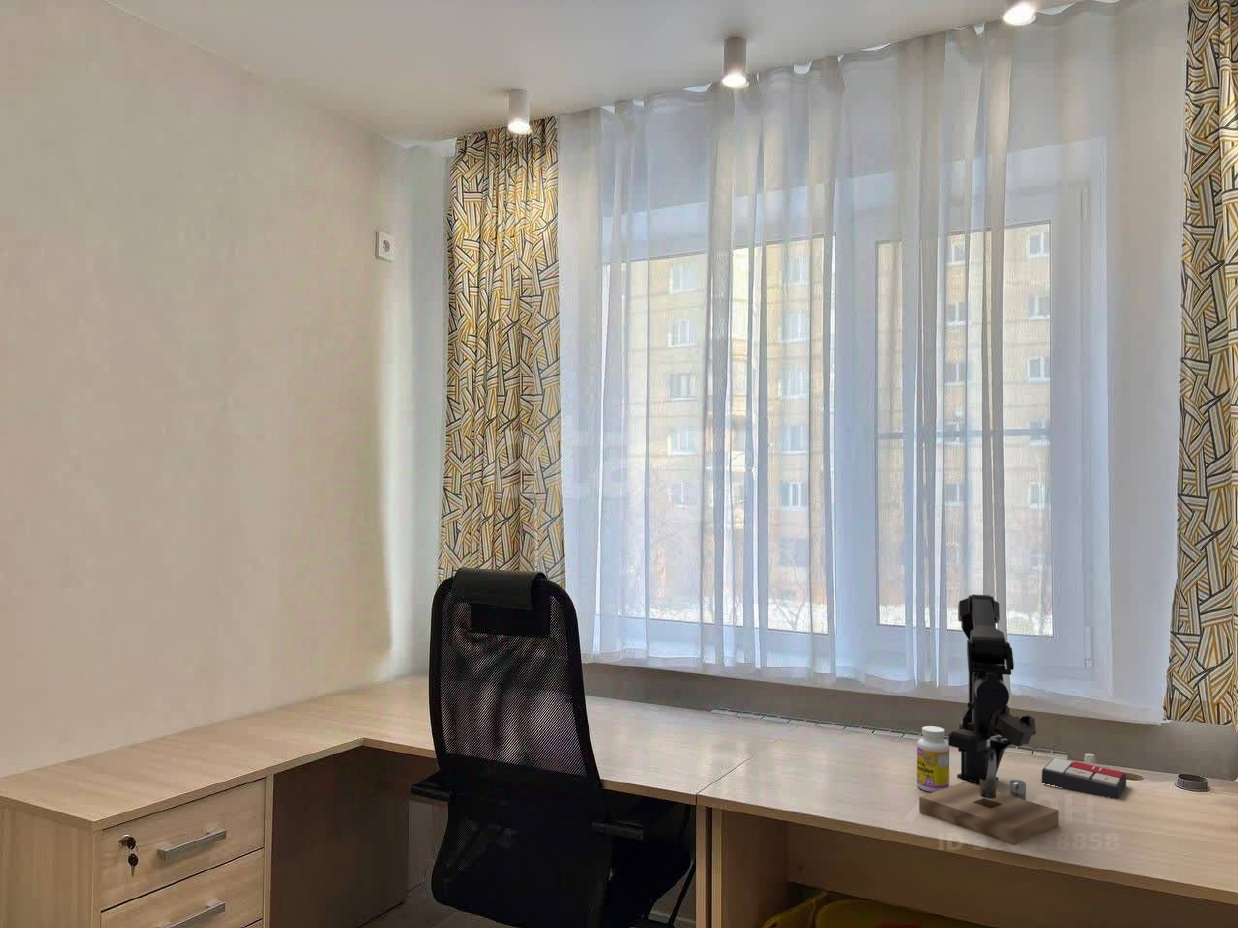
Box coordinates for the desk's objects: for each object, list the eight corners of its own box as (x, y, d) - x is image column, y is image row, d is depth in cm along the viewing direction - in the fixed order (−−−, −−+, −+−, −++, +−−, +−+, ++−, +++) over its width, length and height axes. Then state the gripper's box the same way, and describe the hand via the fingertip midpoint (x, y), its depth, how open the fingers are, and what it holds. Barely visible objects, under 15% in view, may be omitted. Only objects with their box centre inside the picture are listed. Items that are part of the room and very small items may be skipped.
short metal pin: (1007, 803, 184) (1007, 781, 184) (1015, 800, 186) (1015, 778, 186) (1021, 807, 182) (1021, 785, 182) (1028, 804, 183) (1028, 782, 184)
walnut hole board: (919, 811, 178) (919, 796, 179) (964, 796, 188) (964, 781, 188) (1014, 844, 162) (1014, 827, 162) (1058, 825, 172) (1058, 809, 172)
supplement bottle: (910, 785, 195) (910, 726, 195) (933, 781, 197) (933, 723, 198) (932, 794, 189) (932, 733, 189) (956, 791, 191) (956, 730, 192)
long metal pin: (976, 795, 176) (976, 749, 176) (985, 792, 177) (985, 746, 178) (990, 799, 173) (990, 753, 173) (999, 796, 175) (999, 750, 175)
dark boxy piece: (1118, 783, 187) (1041, 765, 197) (1117, 804, 187) (1040, 785, 197) (1127, 771, 196) (1053, 754, 205) (1126, 790, 196) (1052, 773, 205)
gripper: (1000, 714, 164) (1000, 799, 163) (1052, 700, 175) (1052, 780, 175) (946, 701, 173) (946, 782, 172) (999, 689, 184) (998, 765, 184)
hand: (987, 778), depth 175 cm, fingers closed on long metal pin, 3 cm apart
